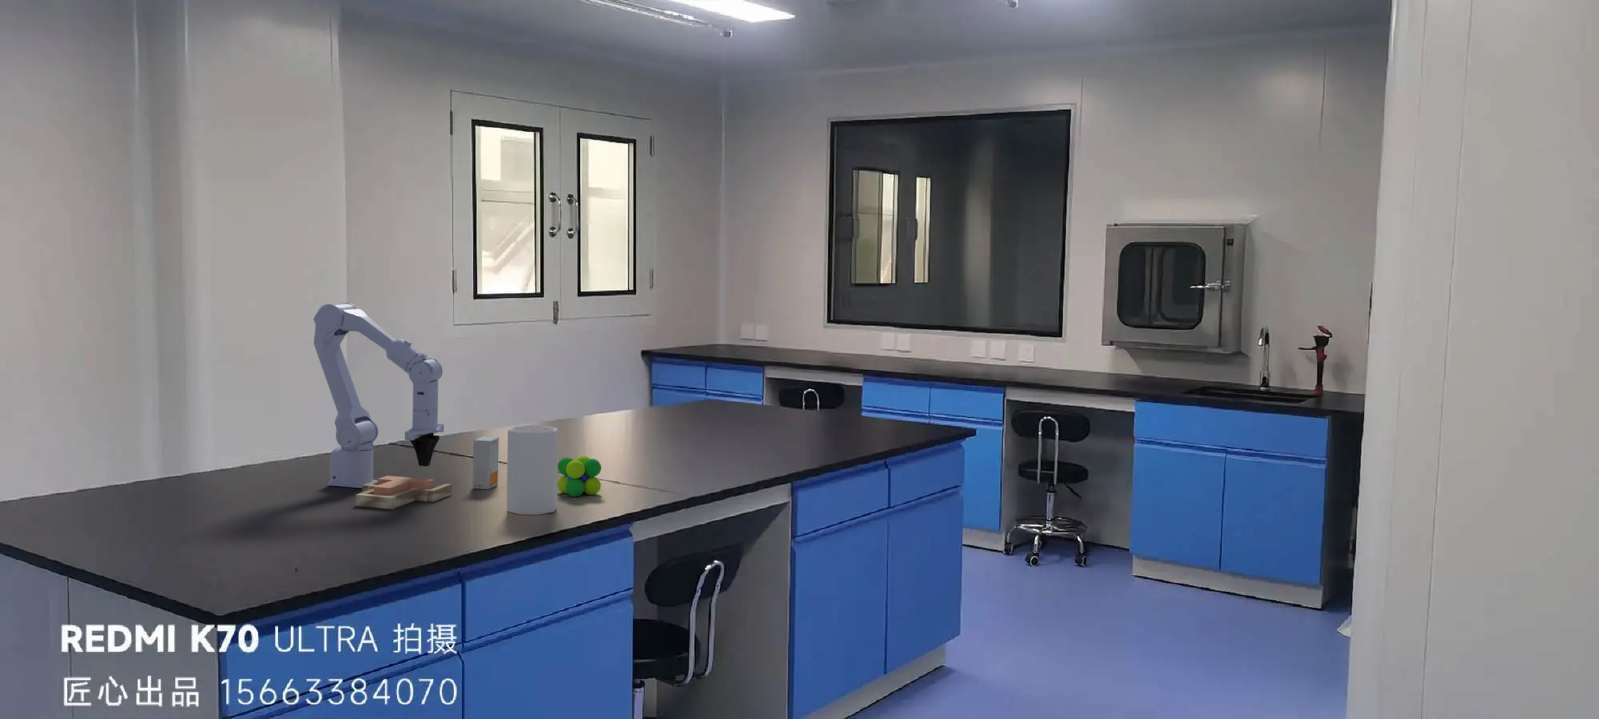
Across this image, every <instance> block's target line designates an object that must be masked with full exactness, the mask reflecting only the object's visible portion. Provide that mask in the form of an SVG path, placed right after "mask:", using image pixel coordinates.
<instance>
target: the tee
mask: <svg viewBox="0 0 1599 719" xmlns="http://www.w3.org/2000/svg"><path fill="white" fill-rule="evenodd" d="M377 480H378V485H377V486H374V495H384V496H392V495H394V494H397V493H400V492H403V491H406V490H408V489H411V488H419V489H433V488H435V486H434V485H435V484H434V483H435V482H434V481H435V479H431V478H419V477H418V478H417V477H408V476H407V477H405V476H396V475H385V476H382V477H380V478H377Z"/></svg>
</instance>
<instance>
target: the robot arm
mask: <svg viewBox="0 0 1599 719" xmlns="http://www.w3.org/2000/svg"><path fill="white" fill-rule="evenodd" d="M313 321H314V324H315V325H314V326H315V327H314V337H313V344H314V348H315V351H316V354H317V356H318V359H319V360H318V361H319V363H320V365H321V368H322V371H323V374H324V377H325V380H326V383H327V386H328V389H329V390H330V394H331V398H332V400H333V403H334V406H335V408H336V412H337V415H336V417H335V419H334V420H335V421H334V424H335V429H336V430H335V431H336V432H335V439H336V442H337V444H338V445H339V447H338V446H337V447H335V448H334V449H333V450H332V451H331V453H330V457H329V483H327V486H331V487H332V486H335V487H343V488H355V489H356V488H357V489H362V485H364V484H367V483H370V482H373V481H376V480H377V479H374V442H375V441H376V439H378V436H379V428H378V425H377V423H376V422H375V421H374V420H373V419H372V417H371V415H370V414H369V412H368V411H367V410H366V408H364V407H363V406H362V404H361V402H360V400H359V396H358V393H357V391H356V389H355V385H354V383H353V379H352V375H351V374H350V371H349V368H348V364H347V362H346V359H345V356H344V354H343V351H342V347H341V344H342V342H343V340H344V338H345V336H346V335H347V334H349V333H350V332H358V333H360V335H361V334H362V335H363V336H365V337H366V338H367V339H368V340H369V341H372V342H373V343H375V344H376V345H377V346H379V347H381V348H382V349H383V350H385V352H386V353H385V354H386V357H387V359H388V360H389V361H390V362H392V363H393V364H395V365H396V366H398V368H400V369H401V370H403V371H404V372H405V373H406V374H408V378H409V380H410V381H411V383H412V385H413V386H412V419H411V420H412V422H411V423H412V427H410V428H409V429H408V430H407V431H404V440H405V441H409V442H410V443H411V445H412V447H413V449H414V452H415V455H416V458H417V463H418V466H419V467H429V466H430V465H431V461H432V456H433V454H434V451H435V448H436V446H437V444H438V442H439V441H440V435H438V434H437V433H444V432H445V425H444V423H438V415H439V414H438V413H439V380H440V379H441V377H442V375H443V367H442V365H441V363H440V362H439V361H438V360H437V359H436V358H432V357H430V358H428V355H427V354H426V353H425V352H424V353H422V352H421V351H419V350H418V349H416V348H415V347H414V346H412V344H413V342H412V341H410V340H409V339H406V340H405V339H403V338H400V339H395V338H394V337H393V336H392V335H390V333H388V332H387V331H386V330H385V329H384V328H382V326H380V325H379V324H378V323H376V322H375V321H374V320H373V319H372V318H371V317H369V316H368V315H367V314H366V312H364V310H362V309H360V308H358V307H357V306H356V305H355V304H353V303H351V302H343V303H335V304H332V303H331V304H330V303H327V304H324V305H322V306H321V307H320V308H319V309H318V310H317V312H316V314H314V317H313ZM436 434H437V435H436Z"/></svg>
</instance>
